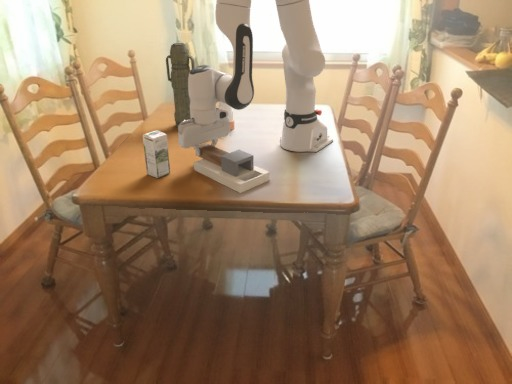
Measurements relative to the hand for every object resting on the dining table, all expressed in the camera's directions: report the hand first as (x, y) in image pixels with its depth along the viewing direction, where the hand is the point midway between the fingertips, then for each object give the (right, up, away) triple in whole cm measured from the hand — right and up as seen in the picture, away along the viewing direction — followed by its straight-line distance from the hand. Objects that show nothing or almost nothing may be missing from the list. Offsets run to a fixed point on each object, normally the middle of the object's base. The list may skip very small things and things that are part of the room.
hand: (205, 153), depth 151 cm
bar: (+3, -3, -2) cm, 5 cm away
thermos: (-14, +16, +39) cm, 44 cm away
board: (+9, -8, -7) cm, 14 cm away
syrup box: (-15, -8, -6) cm, 18 cm away
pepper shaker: (+5, +14, +36) cm, 39 cm away
